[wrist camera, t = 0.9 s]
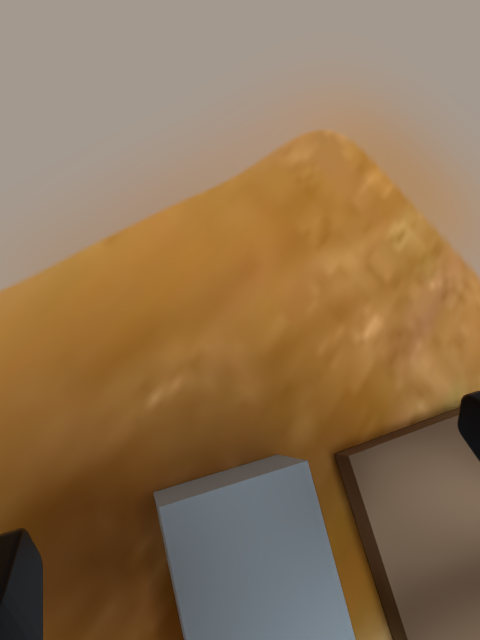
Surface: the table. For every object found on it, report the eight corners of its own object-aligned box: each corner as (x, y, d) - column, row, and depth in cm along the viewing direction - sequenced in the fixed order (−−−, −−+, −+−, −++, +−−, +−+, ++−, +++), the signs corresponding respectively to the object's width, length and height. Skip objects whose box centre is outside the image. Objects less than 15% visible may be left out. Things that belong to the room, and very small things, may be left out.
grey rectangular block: (333, 678, 20) (382, 739, 16) (204, 740, 18) (224, 825, 14) (275, 454, 21) (307, 460, 17) (153, 491, 20) (158, 507, 16)
